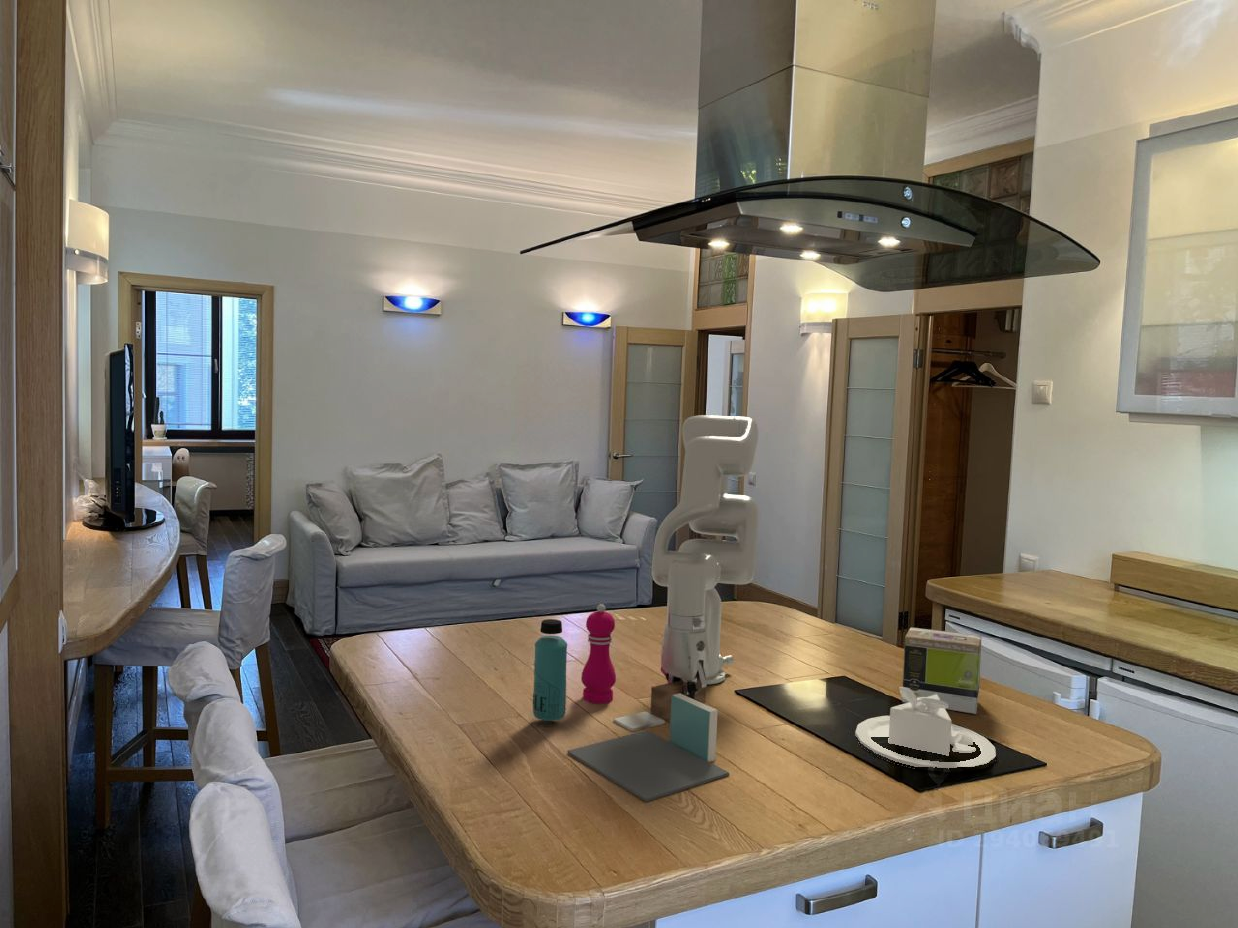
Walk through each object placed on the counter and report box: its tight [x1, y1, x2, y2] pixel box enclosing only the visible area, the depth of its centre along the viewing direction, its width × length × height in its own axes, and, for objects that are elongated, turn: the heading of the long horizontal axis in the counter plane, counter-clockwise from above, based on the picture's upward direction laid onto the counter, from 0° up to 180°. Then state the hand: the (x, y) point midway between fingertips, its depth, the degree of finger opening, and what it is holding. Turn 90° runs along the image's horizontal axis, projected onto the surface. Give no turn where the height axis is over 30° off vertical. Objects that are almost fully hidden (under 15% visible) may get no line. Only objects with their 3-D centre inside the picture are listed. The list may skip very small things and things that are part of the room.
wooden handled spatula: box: [612, 680, 707, 733], centre depth 172 cm, size 20×6×6 cm, turn 127°
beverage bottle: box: [532, 618, 568, 722], centre depth 166 cm, size 6×7×20 cm
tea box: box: [901, 626, 982, 715], centre depth 186 cm, size 15×10×15 cm, turn 65°
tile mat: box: [567, 729, 730, 803], centre depth 149 cm, size 18×22×1 cm
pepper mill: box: [581, 603, 617, 705], centre depth 180 cm, size 7×7×20 cm
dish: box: [854, 686, 997, 769], centre depth 162 cm, size 25×25×11 cm
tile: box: [669, 693, 718, 763], centre depth 155 cm, size 2×10×9 cm, turn 37°
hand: (681, 709), depth 175 cm, fingers closed on wooden handled spatula, 2 cm apart
